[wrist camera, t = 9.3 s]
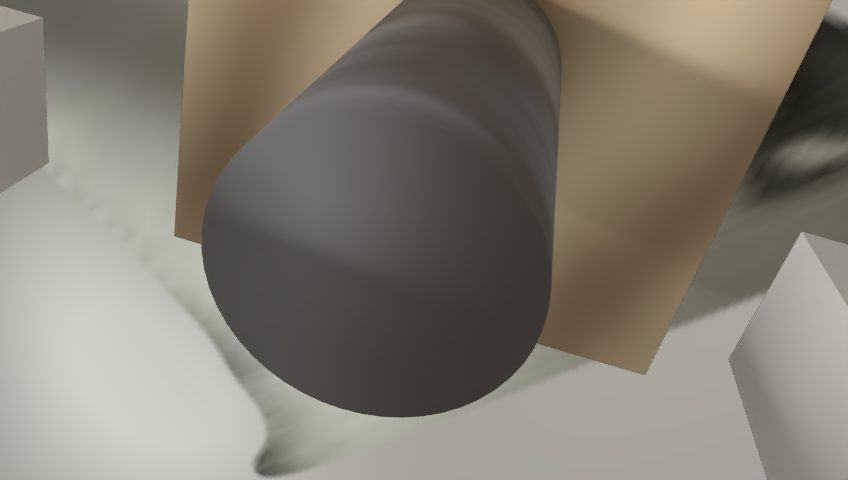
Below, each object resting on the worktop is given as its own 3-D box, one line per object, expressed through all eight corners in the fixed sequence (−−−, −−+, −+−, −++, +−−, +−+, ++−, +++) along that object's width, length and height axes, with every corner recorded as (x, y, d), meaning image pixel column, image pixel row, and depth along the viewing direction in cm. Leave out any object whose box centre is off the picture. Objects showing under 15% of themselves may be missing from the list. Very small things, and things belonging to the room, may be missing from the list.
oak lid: (188, 222, 25) (-86, 491, 15) (229, -362, 17) (-313, -688, 7) (642, 356, 24) (694, 739, 14) (907, -188, 16) (1502, -247, 6)
